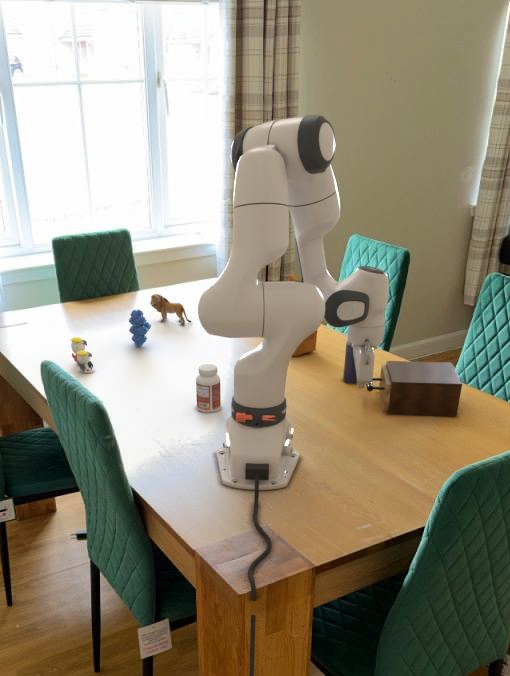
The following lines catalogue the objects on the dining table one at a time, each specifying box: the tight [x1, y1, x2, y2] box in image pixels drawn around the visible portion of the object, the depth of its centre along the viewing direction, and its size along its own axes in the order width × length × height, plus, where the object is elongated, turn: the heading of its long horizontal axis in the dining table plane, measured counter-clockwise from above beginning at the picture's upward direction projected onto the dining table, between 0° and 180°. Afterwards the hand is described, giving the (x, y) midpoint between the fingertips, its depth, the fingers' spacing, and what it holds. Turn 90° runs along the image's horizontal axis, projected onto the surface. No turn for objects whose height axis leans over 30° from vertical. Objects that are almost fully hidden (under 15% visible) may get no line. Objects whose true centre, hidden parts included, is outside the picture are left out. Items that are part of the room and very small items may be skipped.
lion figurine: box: [149, 293, 192, 326], centre depth 251 cm, size 15×5×9 cm, turn 70°
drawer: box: [365, 364, 391, 411], centre depth 190 cm, size 20×14×7 cm
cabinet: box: [385, 360, 463, 418], centre depth 190 cm, size 17×15×9 cm
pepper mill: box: [342, 340, 357, 385], centre depth 203 cm, size 5×5×12 cm
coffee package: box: [288, 273, 318, 357], centre depth 222 cm, size 10×12×22 cm
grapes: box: [128, 308, 152, 348], centre depth 230 cm, size 12×7×12 cm, turn 24°
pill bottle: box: [195, 363, 222, 413], centre depth 189 cm, size 6×6×11 cm
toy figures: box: [70, 336, 94, 374], centre depth 215 cm, size 12×4×8 cm, turn 23°
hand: (360, 386), depth 191 cm, fingers closed
